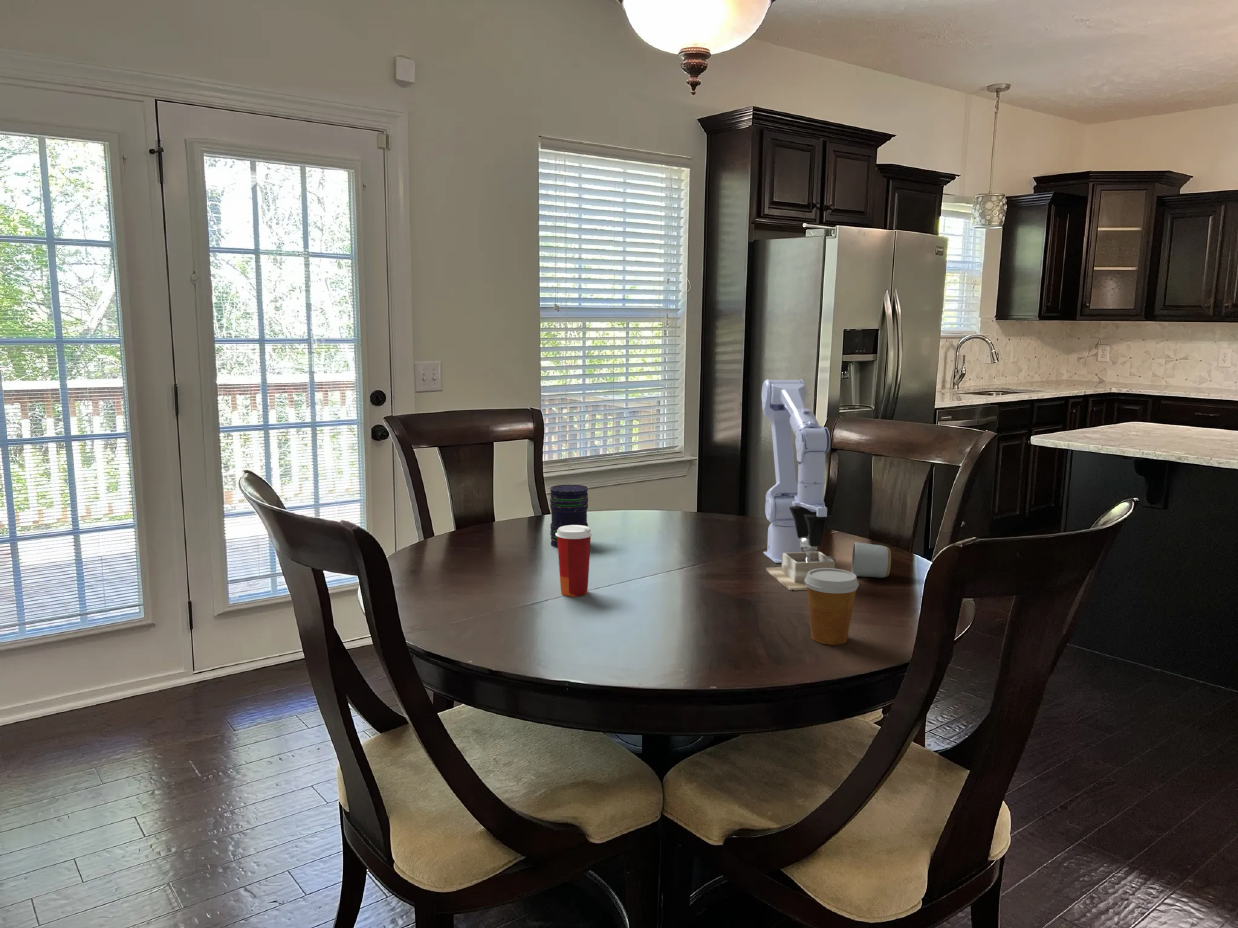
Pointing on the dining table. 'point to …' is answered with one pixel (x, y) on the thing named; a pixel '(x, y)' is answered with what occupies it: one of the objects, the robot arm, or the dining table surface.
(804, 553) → the base
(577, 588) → the paper cup
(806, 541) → the plunger
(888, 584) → the dining table surface
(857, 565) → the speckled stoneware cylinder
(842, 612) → the disposable coffee cup
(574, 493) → the storage jar
